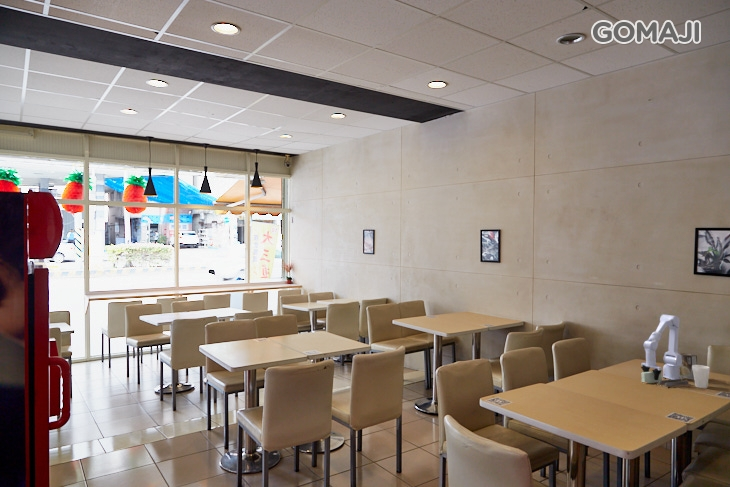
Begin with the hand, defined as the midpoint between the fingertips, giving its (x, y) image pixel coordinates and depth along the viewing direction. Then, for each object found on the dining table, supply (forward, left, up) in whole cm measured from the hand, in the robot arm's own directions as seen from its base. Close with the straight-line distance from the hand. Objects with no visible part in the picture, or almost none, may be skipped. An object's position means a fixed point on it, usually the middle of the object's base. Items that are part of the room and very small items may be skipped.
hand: (651, 378), depth 315 cm
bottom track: (+10, +8, -2) cm, 13 cm away
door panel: (0, 0, -3) cm, 3 cm away
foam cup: (+18, +21, -3) cm, 28 cm away
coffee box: (0, +32, -3) cm, 32 cm away
